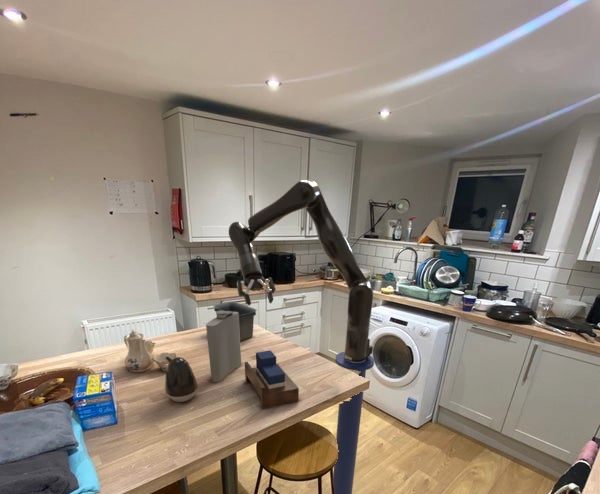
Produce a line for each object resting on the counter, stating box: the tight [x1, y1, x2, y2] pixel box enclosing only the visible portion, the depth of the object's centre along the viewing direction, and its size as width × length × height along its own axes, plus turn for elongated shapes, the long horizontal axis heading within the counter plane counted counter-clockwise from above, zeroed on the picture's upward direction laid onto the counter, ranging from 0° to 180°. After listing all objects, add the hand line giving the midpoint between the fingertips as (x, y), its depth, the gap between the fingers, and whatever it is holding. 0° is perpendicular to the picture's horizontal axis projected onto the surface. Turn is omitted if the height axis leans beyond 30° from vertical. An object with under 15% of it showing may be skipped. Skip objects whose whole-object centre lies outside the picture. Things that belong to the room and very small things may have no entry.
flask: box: [205, 310, 242, 383], centre depth 127 cm, size 17×5×25 cm, turn 157°
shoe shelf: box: [244, 361, 300, 410], centre depth 119 cm, size 13×20×8 cm, turn 24°
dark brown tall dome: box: [164, 356, 198, 403], centre depth 112 cm, size 10×10×15 cm
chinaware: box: [123, 329, 177, 373], centre depth 134 cm, size 28×17×17 cm, turn 54°
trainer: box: [255, 349, 286, 389], centre depth 117 cm, size 14×6×8 cm, turn 25°
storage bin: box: [212, 301, 257, 342], centre depth 165 cm, size 21×16×14 cm
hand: (260, 303), depth 127 cm, fingers open, 8 cm apart
